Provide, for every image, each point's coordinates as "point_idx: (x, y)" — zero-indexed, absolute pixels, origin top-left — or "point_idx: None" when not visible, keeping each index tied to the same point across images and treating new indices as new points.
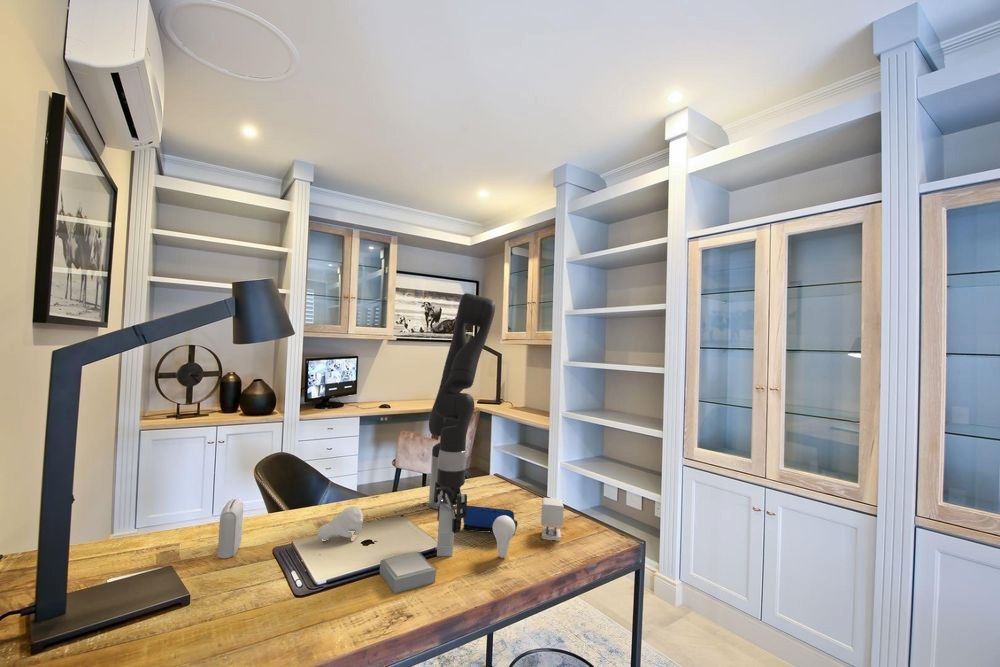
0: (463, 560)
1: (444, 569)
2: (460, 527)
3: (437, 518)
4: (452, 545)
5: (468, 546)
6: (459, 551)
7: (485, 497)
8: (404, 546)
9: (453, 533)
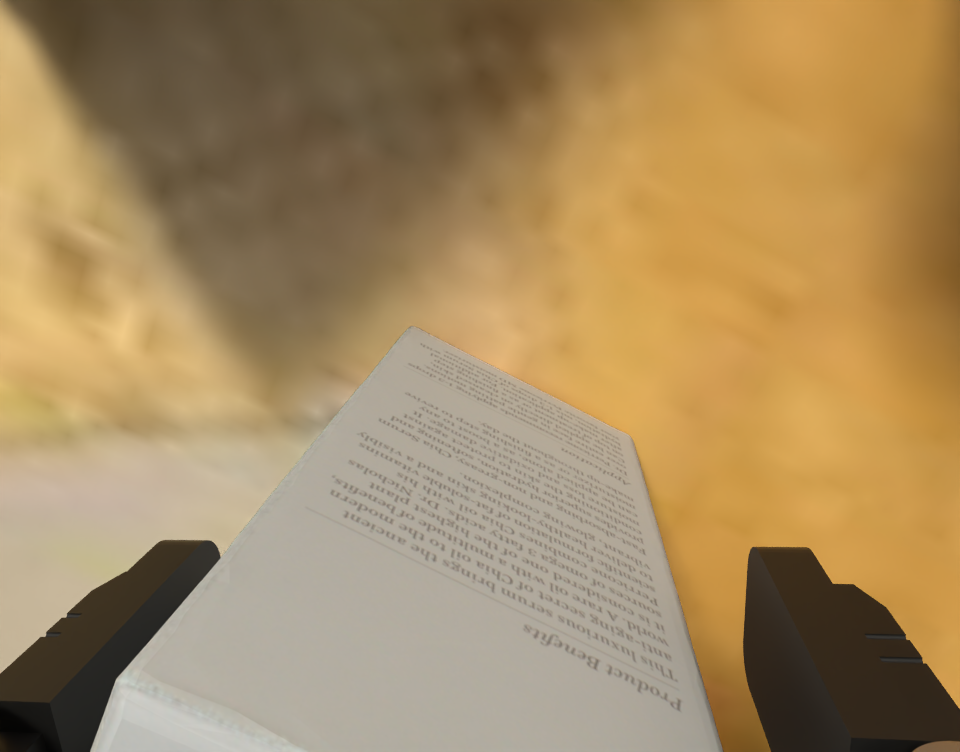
0: (780, 368)
1: None
2: (903, 638)
3: None
4: (647, 494)
5: (493, 143)
6: (563, 309)
7: None
8: None
9: (672, 578)
